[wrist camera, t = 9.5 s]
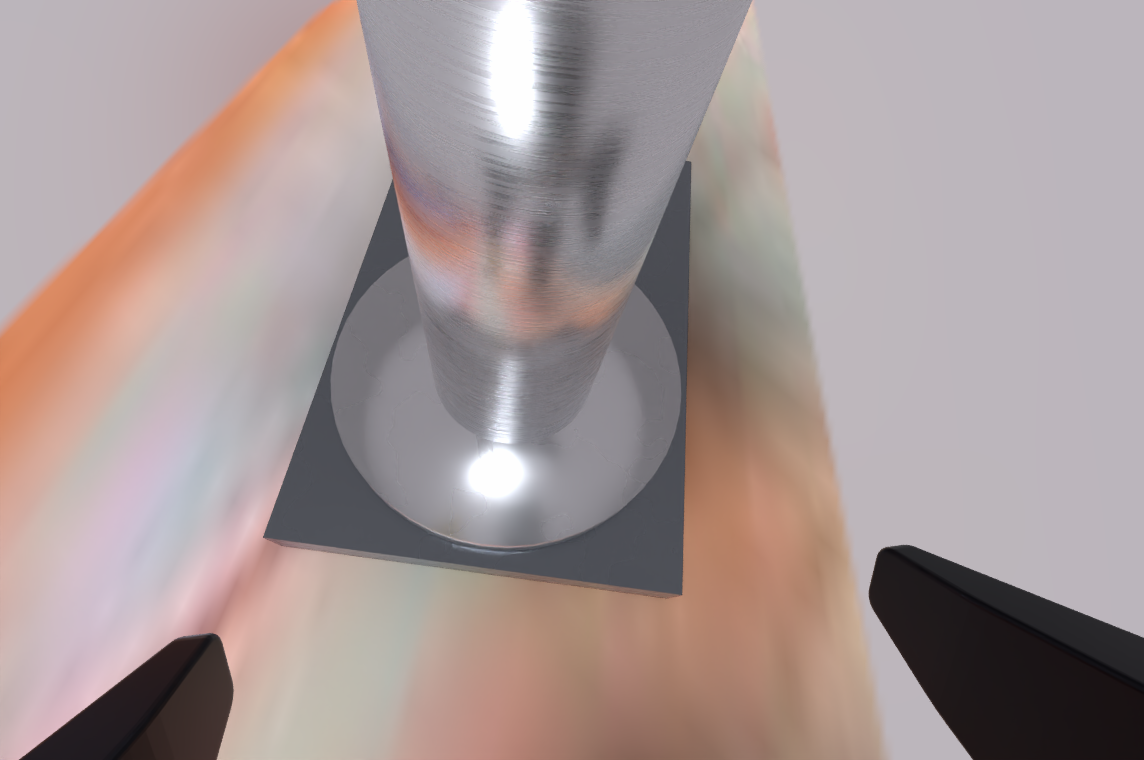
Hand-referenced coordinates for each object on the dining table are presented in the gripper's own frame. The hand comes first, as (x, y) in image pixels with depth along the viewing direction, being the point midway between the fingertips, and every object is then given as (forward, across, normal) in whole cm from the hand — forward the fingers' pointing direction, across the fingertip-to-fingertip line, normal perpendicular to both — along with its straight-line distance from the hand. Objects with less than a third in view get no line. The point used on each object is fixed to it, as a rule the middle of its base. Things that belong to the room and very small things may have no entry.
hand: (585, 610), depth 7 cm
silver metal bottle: (+11, 0, 0) cm, 11 cm away
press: (+15, 0, -1) cm, 15 cm away
